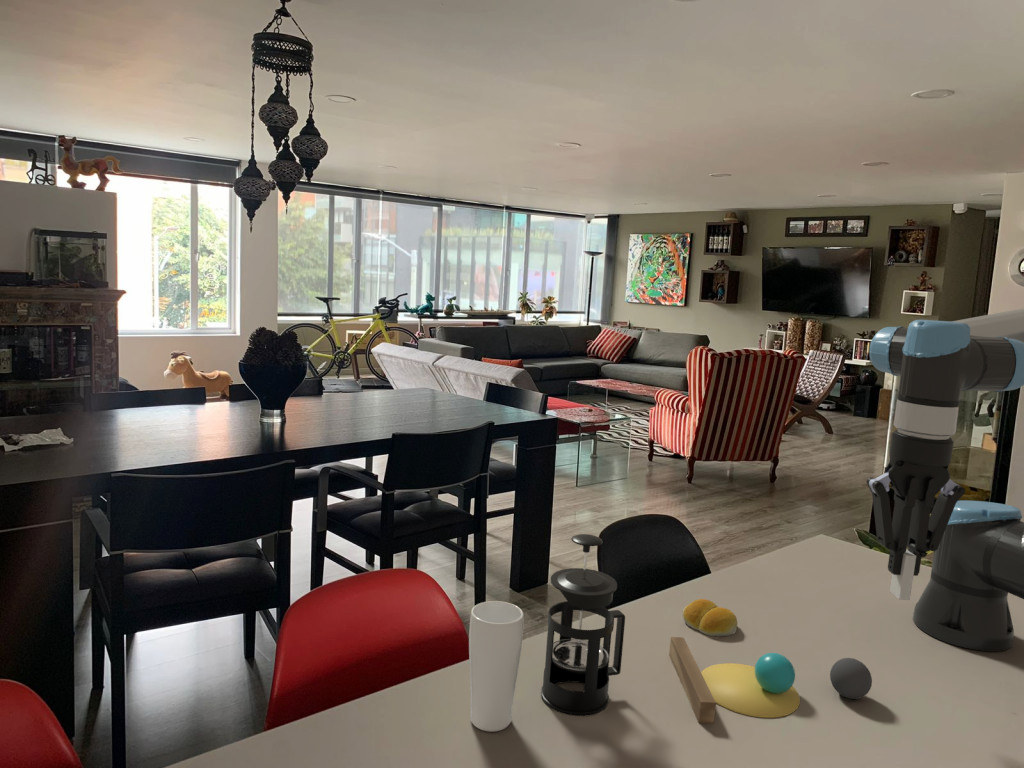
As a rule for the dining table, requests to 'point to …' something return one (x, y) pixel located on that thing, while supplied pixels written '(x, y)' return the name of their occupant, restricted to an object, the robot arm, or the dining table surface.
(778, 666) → the ball
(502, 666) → the drinking glass
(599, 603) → the french press
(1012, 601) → the dining table surface
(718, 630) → the bread roll
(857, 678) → the ball
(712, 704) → the wall
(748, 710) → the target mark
